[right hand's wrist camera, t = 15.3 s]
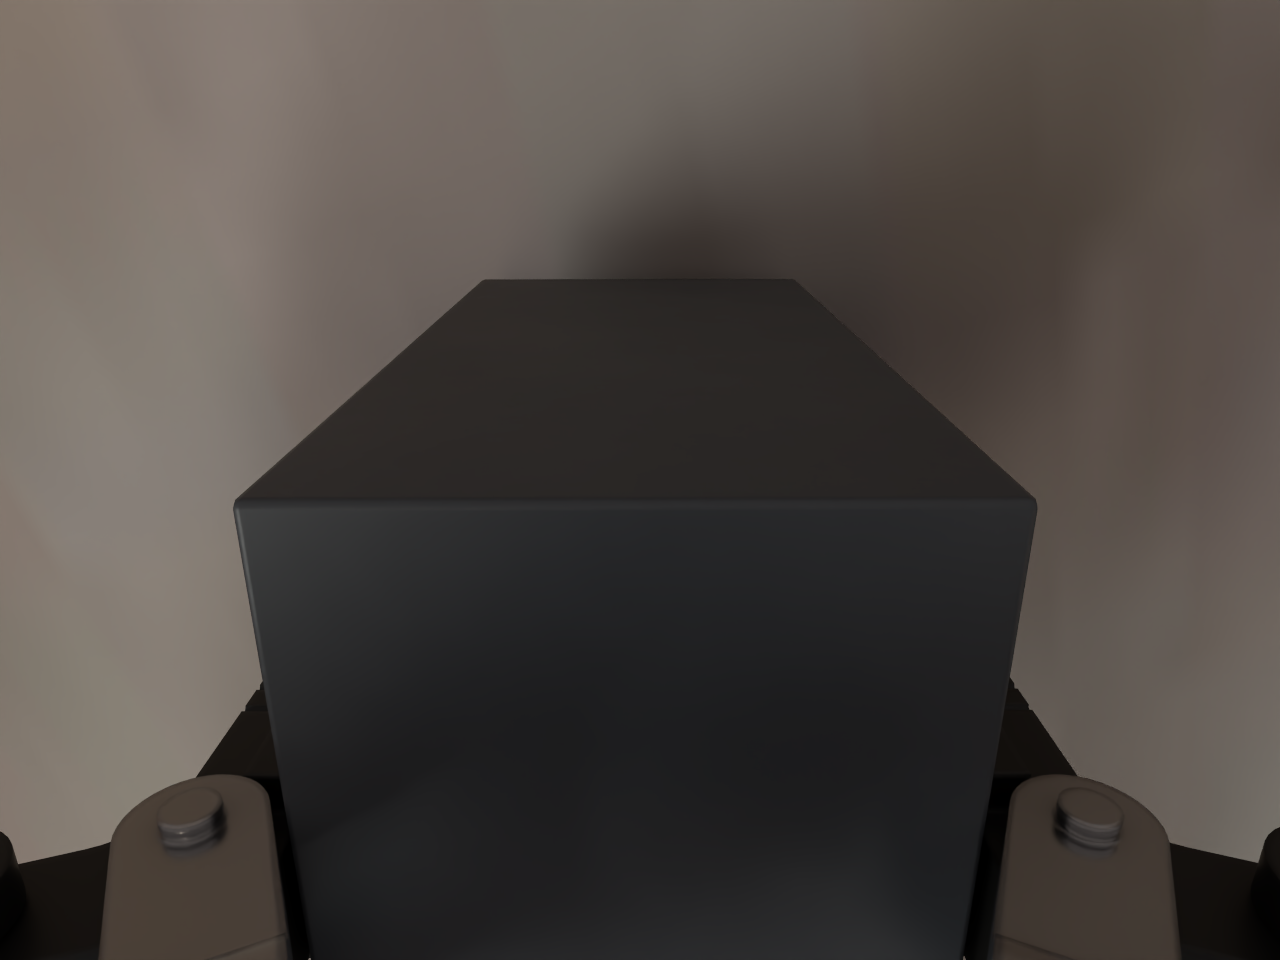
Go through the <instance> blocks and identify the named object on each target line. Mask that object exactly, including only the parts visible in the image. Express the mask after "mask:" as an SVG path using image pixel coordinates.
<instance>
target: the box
mask: <svg viewBox="0 0 1280 960" xmlns="http://www.w3.org/2000/svg"><path fill="white" fill-rule="evenodd" d="M233 511H234V517H235V523H236V529H237V535H238V540H239V546H240V552H241V558H242V563H243V569H244V575H245V581H246V587H247V592H248V598H249V604H250V610H251V616H252V621H253V627H254V633H255V639H256V644H257V650H258V656H259V662H260V668H261V673H262V679H263V685H264V691H265V696H266V702H267V708H268V714H269V720H270V725H271V731H272V737H273V743H274V748H275V754H276V760H277V766H278V772H279V777H280V783H281V789H282V795H283V800H284V806H285V812H286V818H287V824H288V829H289V835H290V841H291V847H292V852H293V858H294V864H295V870H296V876H297V881H298V887H299V893H300V899H301V905H302V910H303V916H304V922H305V928H306V933H307V939H308V945H309V951H310V957H311V960H963V956H964V950H965V943H966V937H967V931H968V925H969V919H970V913H971V907H972V901H973V895H974V889H975V883H976V877H977V871H978V865H979V859H980V853H981V847H982V841H983V835H984V829H985V823H986V817H987V811H988V805H989V799H990V792H991V786H992V780H993V774H994V768H995V762H996V756H997V750H998V744H999V738H1000V732H1001V726H1002V720H1003V714H1004V708H1005V702H1006V696H1007V690H1008V684H1009V678H1010V672H1011V666H1012V660H1013V654H1014V648H1015V641H1016V635H1017V629H1018V623H1019V617H1020V611H1021V605H1022V599H1023V593H1024V587H1025V581H1026V575H1027V569H1028V563H1029V557H1030V551H1031V545H1032V539H1033V533H1034V527H1035V521H1036V515H1037V503H1036V499H1035V498H1034V497H1033V496H1032V495H1030V494H1029V493H1028V492H1027V491H1026V490H1025V489H1024V488H1023V487H1022V486H1021V485H1019V484H1018V483H1017V482H1016V481H1015V480H1014V479H1013V478H1012V477H1011V476H1010V475H1008V474H1007V473H1006V472H1005V471H1004V470H1003V469H1002V468H1001V467H1000V466H999V465H997V464H996V463H995V462H994V461H993V460H992V459H991V458H990V457H989V456H988V455H986V454H985V453H984V452H983V451H982V450H981V449H980V448H979V447H978V446H977V445H975V444H974V443H973V442H972V441H971V440H970V439H969V438H968V437H967V436H966V435H964V434H963V433H962V432H961V431H960V430H959V429H958V428H957V427H956V426H955V425H953V424H952V423H951V422H950V421H949V420H948V419H947V418H946V417H945V416H944V415H942V414H941V413H940V412H939V411H938V410H937V409H936V408H935V407H934V406H933V405H932V404H930V403H929V402H928V401H927V400H926V399H925V398H924V397H923V396H922V395H921V394H919V393H918V392H917V391H916V390H915V389H914V388H913V387H912V386H911V385H910V384H908V383H907V382H906V381H905V380H904V379H903V378H902V377H901V376H900V375H899V374H897V373H896V372H895V371H894V370H893V369H892V368H891V367H890V366H889V365H888V364H886V363H885V362H884V361H883V360H882V359H881V358H880V357H879V356H878V355H877V354H875V353H874V352H873V351H872V350H871V349H870V348H869V347H868V346H867V345H866V344H864V343H863V342H862V341H861V340H860V339H859V338H858V337H857V336H856V335H855V334H853V333H852V332H851V331H850V330H849V329H848V328H847V327H846V326H845V325H844V324H842V323H841V322H840V321H839V320H838V319H837V318H836V317H835V316H834V315H833V314H831V313H830V312H829V311H828V310H827V309H826V308H825V307H824V306H823V305H822V304H820V303H819V302H818V301H817V300H816V299H815V298H814V297H813V296H812V295H811V294H809V293H808V292H807V291H806V290H805V289H804V288H803V287H802V286H801V285H800V284H798V283H797V282H796V281H795V280H793V279H533V280H483V281H481V282H480V283H479V284H478V285H477V286H476V287H475V288H474V289H472V290H471V291H470V292H469V293H468V294H467V295H466V296H464V297H463V298H462V299H461V300H460V301H459V302H458V303H457V304H455V305H454V306H453V307H452V308H451V309H450V310H449V311H448V312H446V313H445V314H444V315H443V316H442V317H441V318H440V319H439V320H437V321H436V322H435V323H434V324H433V325H432V326H431V327H430V328H428V329H427V330H426V331H425V332H424V333H423V334H422V335H421V336H419V337H418V338H417V339H416V340H415V341H414V342H413V343H412V344H410V345H409V346H408V347H407V348H406V349H405V350H404V351H403V352H401V353H400V354H399V355H398V356H397V357H396V358H395V359H394V360H392V361H391V362H390V363H389V364H388V365H387V366H386V367H385V368H383V369H382V370H381V371H380V372H379V373H378V374H377V375H375V376H374V377H373V378H372V379H371V380H370V381H369V382H368V383H366V384H365V385H364V386H363V387H362V388H361V389H360V390H359V391H357V392H356V393H355V394H354V395H353V396H352V397H351V398H350V399H348V400H347V401H346V402H345V403H344V404H343V405H342V406H341V407H339V408H338V409H337V410H336V411H335V412H334V413H333V414H332V415H330V416H329V417H328V418H327V419H326V420H325V421H324V422H323V423H321V424H320V425H319V426H318V427H317V428H316V429H315V430H314V431H312V432H311V433H310V434H309V435H308V436H307V437H306V438H305V439H303V440H302V441H301V442H300V443H299V444H298V445H297V446H296V447H294V448H293V449H292V450H291V451H290V452H289V453H288V454H286V455H285V456H284V457H283V458H282V459H281V460H280V461H279V462H277V463H276V464H275V465H274V466H273V467H272V468H271V469H270V470H268V471H267V472H266V473H265V474H264V475H263V476H262V477H261V478H259V479H258V480H257V481H256V482H255V483H254V484H253V485H252V486H250V487H249V488H248V489H247V490H246V491H245V492H244V493H243V494H241V495H240V496H239V497H238V498H237V499H236V500H235V503H234V507H233Z"/></svg>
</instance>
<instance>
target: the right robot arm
mask: <svg viewBox="0 0 1280 960" xmlns="http://www.w3.org/2000/svg"><path fill="white" fill-rule="evenodd" d="M1028 705H1029V704H1028V703H1027V702H1026V700H1025V699H1024V697H1023V696H1022V694H1021V693H1020V691H1019V690H1018V689H1015V688H1014V683H1013V681H1012V680H1011V678H1009V684H1008V690H1007V696H1006V702H1005V708H1004V714H1003V720H1002V726H1001V732H1000V738H999V744H998V750H997V756H996V762H995V768H994V774H993V780H992V786H991V792H990V799H989V805H988V811H987V817H986V823H985V829H984V835H983V841H982V847H981V853H980V859H979V865H978V871H977V877H976V883H975V889H974V895H973V901H972V907H971V913H970V919H969V925H968V931H967V937H966V943H965V950H964V956H965V958H966V960H1280V827H1279V828H1277V829H1275V830H1273V831H1272V832H1271V833H1270V834H1269V835H1268V836H1267V838H1266V840H1265V842H1264V846H1263V849H1262V852H1261V855H1260V859H1259V862H1258V863H1255V862H1251V861H1246V860H1242V859H1237V858H1233V857H1228V856H1224V855H1219V854H1215V853H1210V852H1206V851H1201V850H1197V849H1192V848H1188V847H1184V846H1180V845H1176V844H1172V843H1169V840H1168V836H1167V834H1166V832H1165V830H1164V828H1163V826H1162V825H1161V823H1160V822H1159V821H1158V819H1157V818H1156V817H1155V816H1154V815H1153V814H1152V813H1151V812H1150V811H1149V810H1148V809H1147V808H1146V807H1144V806H1143V805H1142V804H1141V803H1139V802H1138V801H1136V800H1135V799H1133V798H1132V797H1130V796H1129V795H1127V794H1125V793H1123V792H1121V791H1119V790H1117V789H1115V788H1113V787H1111V786H1108V785H1106V784H1103V783H1101V782H1098V781H1094V780H1091V779H1088V778H1083V777H1078V776H1077V775H1076V773H1075V772H1074V770H1073V769H1072V767H1071V766H1070V764H1069V763H1068V761H1067V760H1066V758H1065V757H1064V756H1063V754H1062V753H1061V751H1060V750H1059V748H1058V747H1057V745H1056V744H1055V742H1054V741H1053V739H1052V738H1051V737H1050V735H1049V734H1048V732H1047V731H1046V729H1045V728H1044V726H1043V725H1042V723H1041V722H1040V721H1039V719H1038V718H1037V716H1036V715H1035V713H1034V712H1033V710H1029V707H1028ZM309 958H311V957H310V951H309V945H308V939H307V933H306V928H305V922H304V916H303V910H302V905H301V899H300V893H299V887H298V881H297V876H296V870H295V864H294V858H293V852H292V847H291V841H290V835H289V829H288V824H287V818H286V812H285V806H284V800H283V795H282V789H281V783H280V777H279V772H278V766H277V760H276V754H275V748H274V743H273V737H272V731H271V725H270V720H269V714H268V708H267V702H266V696H265V691H264V685H263V682H262V683H261V684H260V690H256V692H255V693H254V694H253V696H252V697H251V699H250V700H249V702H248V703H247V705H246V709H245V711H242V712H241V713H240V715H239V716H238V718H237V719H236V720H235V722H234V723H233V725H232V726H231V728H230V729H229V730H228V732H227V733H226V735H225V736H224V738H223V739H222V741H221V742H220V743H219V745H218V746H217V748H216V749H215V751H214V752H213V754H212V755H211V756H210V758H209V759H208V761H207V762H206V764H205V765H204V766H203V768H202V769H201V771H200V772H199V774H198V775H197V777H196V778H192V779H189V780H186V781H182V782H179V783H177V784H174V785H172V786H169V787H167V788H165V789H163V790H161V791H159V792H157V793H155V794H153V795H151V796H150V797H148V798H147V799H145V800H144V801H142V802H141V803H139V804H138V805H137V806H136V807H134V808H133V809H132V810H131V811H130V812H129V813H128V814H127V815H126V816H125V817H124V818H123V819H122V821H121V822H120V823H119V825H118V826H117V828H116V830H115V832H114V834H113V836H112V840H111V842H109V843H106V844H103V845H100V846H97V847H93V848H89V849H85V850H81V851H76V852H72V853H67V854H63V855H58V856H54V857H49V858H45V859H40V860H36V861H31V862H27V863H22V864H18V863H17V859H16V856H15V853H14V850H13V846H12V843H11V842H10V840H9V838H8V837H7V836H6V835H5V834H3V833H2V832H0V960H308V959H309Z"/></svg>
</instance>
